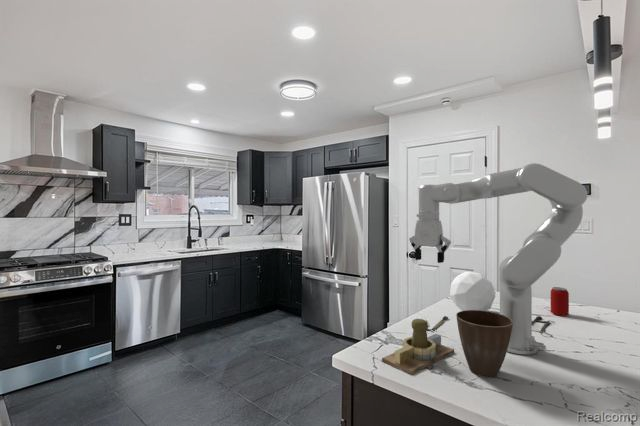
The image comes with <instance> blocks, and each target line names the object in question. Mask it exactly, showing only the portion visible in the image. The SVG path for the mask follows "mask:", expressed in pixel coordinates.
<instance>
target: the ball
mask: <svg viewBox="0 0 640 426" xmlns="http://www.w3.org/2000/svg"><path fill="white" fill-rule="evenodd" d="M449 297H450V299H451V300H452V302H453V303H454V305H455V306H456V307H457V308H458V309H459V310H460V311H465V310H480V311H489V310H491V308H492V306H493V303H494V301H495V298H496V291H495V288H494V285H493V283H492V281H490V280H489V279H488V278H486V276H484V275H483V274H482V273H481V272H473V271H464V272H462V273H460V274H458V275H457V276H455V277H454V279H453V280H452V282H451V283H450V288H449Z"/></svg>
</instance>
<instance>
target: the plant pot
mask: <svg viewBox="0 0 640 426" xmlns="http://www.w3.org/2000/svg"><path fill="white" fill-rule="evenodd" d="M455 316H456V323H457V330H458V335H459V339H460V342H461V347H462V351H463V353H464V357H465V360H466V362H467V363H466V364H467V365H468V368H469V370H470V372H471V373H473V374H474V375H476V376H479V377H482V378H483V377H484V378H495V377H497V376H498V375H499V372H500V370H501V368H502V365H503V363H504V361H505V358H506V356H507V353H508V352H507V349H508V346H509V342H510V337H511V332H512V325H513V321H512V320H511V319H510V318H508V317H506V316H504V315H501V314H500V313H499V312H498V313H497V312H493V311H489V310H487V311H480V310H465V311H462V310H460V311H459V312H457V313H456V315H455Z"/></svg>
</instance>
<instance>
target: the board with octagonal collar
mask: <svg viewBox="0 0 640 426" xmlns="http://www.w3.org/2000/svg"><path fill="white" fill-rule="evenodd" d="M454 353H455V349H454V348H451V347H450V346H447V345H446V346H445V345H443V344H441V346H439V347H437V348H436V355H435V358H434V359H432V360H425V361H423V360H422V361H421V360H415V359H411V360H409V361H407V362H405V363H403V364H401V365H399V364H397V363H395V352H393V353H391V354H389V355H385V356H383V357H381V362H382V363H384V364H387V365H389V366H391V367H393V368H395V369H398V370H400V371H402V372H404V373H407V374H409V375H413V374H415V373H417V372H419V371H421V370H423V369H425V368H427V367H428V366H431V365H433V364H435V363H436V362H438V361H440V360H442V359H444V358H446V357H449V356H450V355H452V354H454Z"/></svg>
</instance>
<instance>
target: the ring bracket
mask: <svg viewBox="0 0 640 426" xmlns="http://www.w3.org/2000/svg"><path fill="white" fill-rule="evenodd" d="M427 340H428V348H418V347H413V346H411V344H412V336H411V337H410V336H409V337H405V338H404V339H403V341H402V348H399V349H396V350H394V353H395V363H397V364H399V365H401V364H403V363H405V362H407V361H409V360H411V359H415V360H421V361H422V360H423V361H425V360H432V359H434V358H435V355H436V348H437V347H439V346H441V345H442V335H441V334H438V333H434V334H432V335H429V336H427Z"/></svg>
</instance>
